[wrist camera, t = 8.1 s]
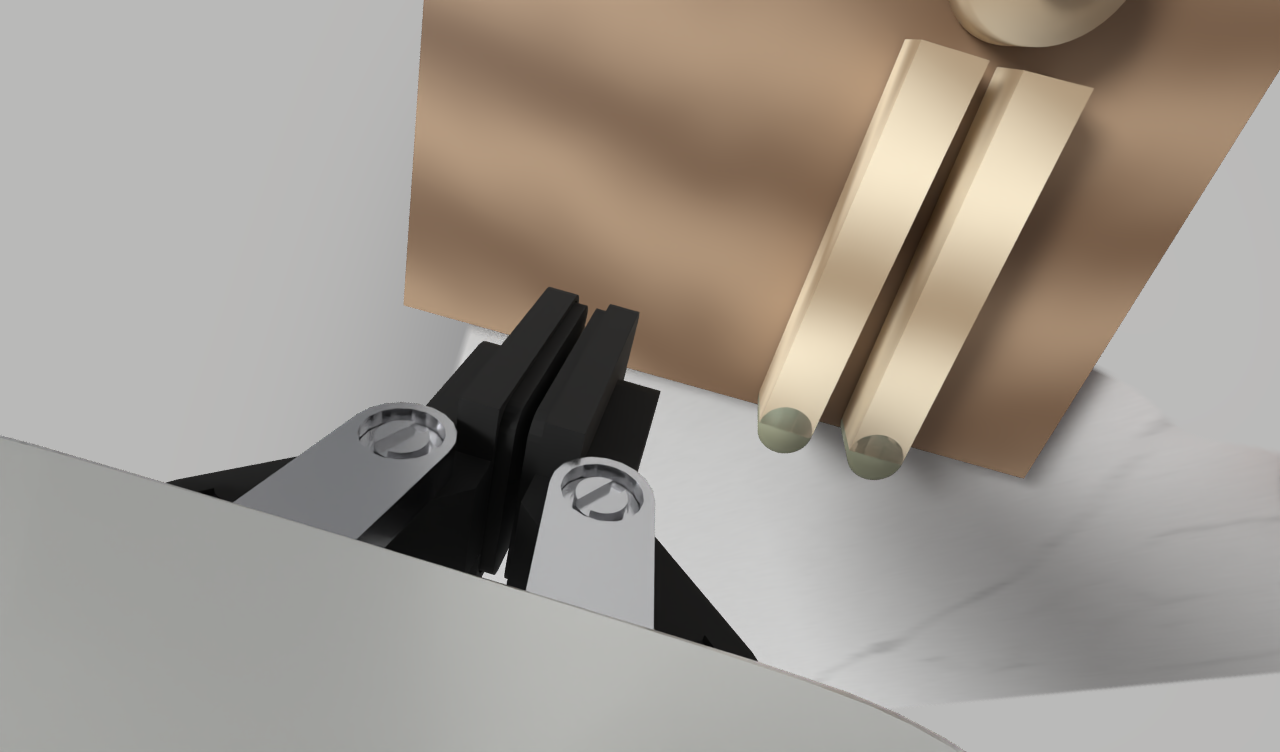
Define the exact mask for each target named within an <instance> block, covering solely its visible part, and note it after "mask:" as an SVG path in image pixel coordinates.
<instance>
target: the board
mask: <svg viewBox="0 0 1280 752" xmlns="http://www.w3.org/2000/svg"><path fill="white" fill-rule="evenodd" d="M905 39H920V40H925V41H928V42H931V43H935V44H938V45H941V46H944V47H948V48H951V49H954V50H957V51H961V52H964V53H967V54H970V55H974V56H977V57H980V58H983V59H987V60H990V61H989V63H988V65H987V68H986V70H985V72H984V74H983V76H982V78H981V80H980V82H979V84H978V87H977V89H976V91H975V93H974V95H973V97H972V99H971V101H970V103H969V106H968V108H967V110H966V112H965V114H964V116H963V118H962V120H961V122H960V124H959V127H958V129H957V131H956V133H955V135H954V137H953V139H952V141H951V143H950V146H949V148H948V150H947V152H946V154H945V156H944V158H943V160H942V162H941V165H940V167H939V169H938V171H937V173H936V175H935V177H934V179H933V181H932V184H931V186H930V188H929V190H928V192H927V194H926V196H925V198H924V200H923V202H922V205H921V207H920V209H919V211H918V213H917V215H916V217H915V219H914V221H913V224H912V226H911V228H910V230H909V232H908V234H907V236H906V238H905V240H904V243H903V245H902V247H901V249H900V251H899V253H898V255H897V257H896V259H895V262H894V264H893V266H892V268H891V270H890V272H889V274H888V276H887V278H886V280H885V283H884V285H883V287H882V289H881V291H880V293H879V295H878V297H877V299H876V302H875V304H874V306H873V308H872V310H871V312H870V314H869V316H868V318H867V321H866V323H865V325H864V327H863V329H862V331H861V333H860V335H859V337H858V340H857V342H856V344H855V346H854V348H853V350H852V352H851V354H850V356H849V358H848V361H847V363H846V365H845V367H844V369H843V371H842V373H841V375H840V377H839V380H838V382H837V384H836V386H835V388H834V390H833V392H832V394H831V396H830V399H829V401H828V403H827V405H826V407H825V409H824V411H823V413H822V415H821V418H820V420H819V421H820V422H823V423H827V424H830V425H834V426H838V427H841V426H840V424H841V419H842V417H843V414H844V412H845V410H846V408H847V405H848V403H849V401H850V399H851V396H852V394H853V392H854V390H855V387H856V385H857V383H858V380H859V378H860V376H861V374H862V371H863V369H864V367H865V365H866V362H867V360H868V358H869V356H870V353H871V351H872V349H873V346H874V344H875V342H876V340H877V337H878V335H879V333H880V331H881V328H882V326H883V324H884V322H885V319H886V317H887V315H888V312H889V310H890V308H891V306H892V303H893V301H894V299H895V297H896V294H897V292H898V290H899V288H900V285H901V283H902V281H903V278H904V276H905V274H906V272H907V269H908V267H909V265H910V263H911V260H912V258H913V256H914V254H915V251H916V249H917V247H918V244H919V242H920V240H921V238H922V235H923V233H924V231H925V229H926V226H927V224H928V222H929V220H930V217H931V215H932V213H933V210H934V208H935V206H936V204H937V201H938V199H939V197H940V195H941V192H942V190H943V188H944V186H945V183H946V181H947V179H948V176H949V174H950V172H951V170H952V167H953V165H954V163H955V161H956V158H957V156H958V154H959V152H960V149H961V147H962V145H963V142H964V140H965V138H966V136H967V133H968V131H969V129H970V127H971V124H972V122H973V120H974V118H975V115H976V113H977V111H978V108H979V106H980V104H981V102H982V99H983V97H984V95H985V93H986V90H987V88H988V86H989V84H990V81H991V79H992V77H993V74H994V72H995V70H996V68H997V67H1003V68H1010V69H1018V70H1025V71H1029V72H1033V73H1037V74H1040V75H1044V76H1048V77H1052V78H1056V79H1060V80H1063V81H1067V82H1071V83H1075V84H1079V85H1083V86H1086V87H1090V88H1094V89H1093V91H1092V93H1091V95H1090V97H1089V99H1088V101H1087V103H1086V105H1085V107H1084V109H1083V111H1082V113H1081V115H1080V117H1079V119H1078V121H1077V123H1076V125H1075V126H1074V128H1073V130H1072V132H1071V134H1070V136H1069V138H1068V140H1067V142H1066V144H1065V146H1064V148H1063V150H1062V152H1061V154H1060V156H1059V158H1058V160H1057V162H1056V164H1055V166H1054V168H1053V170H1052V171H1051V173H1050V175H1049V177H1048V179H1047V181H1046V183H1045V185H1044V187H1043V189H1042V191H1041V193H1040V195H1039V197H1038V199H1037V201H1036V203H1035V205H1034V207H1033V209H1032V211H1031V213H1030V214H1029V216H1028V218H1027V220H1026V222H1025V224H1024V226H1023V228H1022V230H1021V232H1020V234H1019V236H1018V238H1017V240H1016V242H1015V244H1014V246H1013V248H1012V250H1011V252H1010V254H1009V256H1008V258H1007V259H1006V261H1005V263H1004V265H1003V267H1002V269H1001V271H1000V273H999V275H998V277H997V279H996V281H995V283H994V285H993V287H992V289H991V291H990V293H989V295H988V297H987V299H986V301H985V303H984V304H983V306H982V308H981V310H980V312H979V314H978V316H977V318H976V320H975V322H974V324H973V326H972V328H971V330H970V332H969V334H968V336H967V338H966V340H965V342H964V344H963V346H962V347H961V349H960V351H959V353H958V355H957V357H956V359H955V361H954V363H953V365H952V367H951V369H950V371H949V373H948V375H947V377H946V379H945V381H944V383H943V385H942V387H941V389H940V391H939V392H938V394H937V396H936V398H935V400H934V402H933V404H932V406H931V408H930V410H929V412H928V414H927V416H926V418H925V420H924V422H923V424H922V426H921V428H920V430H919V432H918V434H917V435H916V437H915V439H914V441H913V443H912V445H911V447H913V448H916V449H920V450H923V451H927V452H931V453H934V454H938V455H941V456H945V457H949V458H952V459H956V460H959V461H963V462H966V463H970V464H974V465H977V466H981V467H984V468H988V469H991V470H995V471H999V472H1002V473H1006V474H1009V475H1013V476H1016V477H1020V478H1025V476H1026V474H1027V473H1028V471H1029V470H1030V468H1031V466H1032V465H1033V463H1034V462H1035V460H1036V458H1037V457H1038V455H1039V454H1040V452H1041V450H1042V449H1043V447H1044V446H1045V444H1046V442H1047V441H1048V439H1049V438H1050V436H1051V434H1052V433H1053V431H1054V430H1055V428H1056V426H1057V425H1058V423H1059V422H1060V420H1061V418H1062V417H1063V415H1064V414H1065V412H1066V410H1067V409H1068V407H1069V406H1070V404H1071V402H1072V401H1073V399H1074V398H1075V396H1076V394H1077V393H1078V391H1079V390H1080V388H1081V386H1082V385H1083V383H1084V382H1085V380H1086V378H1087V377H1088V375H1089V374H1090V372H1091V370H1092V369H1093V367H1094V366H1095V364H1096V362H1097V361H1098V359H1099V358H1100V356H1101V354H1102V353H1103V351H1104V350H1105V348H1106V347H1107V345H1108V343H1109V342H1110V340H1111V339H1112V337H1113V335H1114V333H1115V332H1116V331H1117V329H1118V327H1119V326H1120V324H1121V322H1122V321H1123V319H1124V318H1125V316H1126V314H1127V313H1128V311H1129V310H1130V308H1131V306H1132V305H1133V303H1134V302H1135V300H1136V299H1137V297H1138V295H1139V294H1140V292H1141V291H1142V289H1143V287H1144V286H1145V284H1146V283H1147V281H1148V279H1149V278H1150V276H1151V275H1152V273H1153V271H1154V270H1155V268H1156V267H1157V265H1158V263H1159V262H1160V260H1161V258H1162V257H1163V255H1164V254H1165V252H1166V251H1167V249H1168V247H1169V246H1170V244H1171V243H1172V241H1173V239H1174V238H1175V236H1176V235H1177V233H1178V231H1179V230H1180V228H1181V227H1182V225H1183V223H1184V222H1185V220H1186V218H1187V217H1188V215H1189V214H1190V212H1191V211H1192V209H1193V207H1194V206H1195V204H1196V203H1197V201H1198V199H1199V198H1200V196H1201V195H1202V193H1203V191H1204V190H1205V188H1206V187H1207V185H1208V184H1209V182H1210V180H1211V179H1212V177H1213V176H1214V174H1215V172H1216V171H1217V169H1218V167H1219V166H1220V164H1221V163H1222V161H1223V160H1224V158H1225V156H1226V155H1227V153H1228V152H1229V150H1230V148H1231V147H1232V145H1233V144H1234V142H1235V140H1236V139H1237V137H1238V136H1239V134H1240V132H1241V131H1242V129H1243V128H1244V126H1245V124H1246V123H1247V121H1248V120H1249V118H1250V116H1251V115H1252V113H1253V112H1254V110H1255V108H1256V107H1257V105H1258V103H1259V102H1260V100H1261V99H1262V97H1263V96H1264V94H1265V92H1266V91H1267V89H1268V88H1269V86H1270V84H1271V83H1272V81H1273V80H1274V78H1275V76H1276V75H1277V73H1278V72H1279V70H1280V0H1126V1H1125V2H1124V3H1123V4H1122V5H1121V6H1120V7H1119V8H1118V10H1117V11H1116V12H1115V13H1113V14H1112V15H1111V16H1110V17H1109V18H1108V19H1107V20H1106V21H1104V22H1103V23H1102V24H1100V25H1099V26H1097V27H1096V28H1095V29H1093V30H1091V31H1090V32H1088V33H1086V34H1085V35H1083V36H1081V37H1078V38H1076V39H1074V40H1072V41H1069V42H1065V43H1062V44H1059V45H1053V46H1048V47H1019V46H1001V45H994V44H990V43H987V42H984V41H982V40H980V39H978V38H976V37H974V36H973V35H971V34H970V33H969V32H968V31H967V30H965V29H964V27H963V26H962V25H961V24H960V23H959V22H958V20H957V18H956V17H955V15H954V13H953V11H952V9H951V6H950V3H949V0H424V6H423V20H422V37H421V51H420V67H419V81H418V96H417V111H416V127H415V142H414V157H413V172H412V186H411V202H410V216H409V231H408V246H407V261H406V276H405V291H404V305H405V306H408V307H412V308H415V309H419V310H423V311H427V312H430V313H434V314H437V315H441V316H445V317H448V318H451V319H455V320H458V321H462V322H466V323H469V324H473V325H476V326H480V327H483V328H487V329H491V330H494V331H498V332H501V333H505V334H508V335H510V334H511V332H512V331H513V330H514V329H515V327H516V326H517V325H518V324H519V322H520V321H521V320H522V319H523V317H524V316H525V315H526V314H527V313H528V311H529V310H530V309H531V308H532V306H533V305H534V304H535V303H536V301H537V300H538V299H539V298H540V296H541V295H542V294H543V293H544V291H545V290H546V289H547V288H548V287H552V288H556V289H559V290H563V291H567V292H570V293H574V294H577V295H579V303H580V304H583V305H587V306H588V313H587V319H586V323H585V327H586V325H587V323H588V322H589V320H590V318H591V316H592V315H593V313H594V311H595V310H596V308H597V309H601V310H605V311H606V310H607V308H608V306H609V305H610V304H613V305H616V306H620V307H623V308H627V309H631V310H634V311H638V312H640V314H639V319H638V324H637V328H636V332H635V336H634V340H633V344H632V348H631V352H630V356H629V360H628V364H627V368H630V369H634V370H637V371H641V372H644V373H648V374H652V375H655V376H659V377H662V378H666V379H669V380H673V381H677V382H680V383H684V384H687V385H691V386H695V387H698V388H702V389H705V390H709V391H712V392H716V393H720V394H723V395H727V396H730V397H734V398H737V399H741V400H745V401H748V402H752V403H755V404H758V394H759V392H760V389H761V387H762V384H763V382H764V379H765V377H766V375H767V372H768V370H769V367H770V365H771V362H772V360H773V358H774V355H775V353H776V350H777V348H778V346H779V343H780V341H781V338H782V336H783V333H784V331H785V329H786V326H787V324H788V321H789V319H790V316H791V314H792V312H793V309H794V307H795V304H796V302H797V300H798V297H799V295H800V292H801V290H802V287H803V285H804V283H805V280H806V278H807V275H808V273H809V271H810V268H811V266H812V263H813V261H814V258H815V256H816V254H817V251H818V249H819V246H820V244H821V241H822V239H823V237H824V234H825V232H826V229H827V227H828V225H829V222H830V220H831V217H832V215H833V212H834V210H835V208H836V205H837V203H838V200H839V198H840V195H841V193H842V191H843V188H844V186H845V183H846V181H847V179H848V176H849V174H850V171H851V169H852V166H853V164H854V162H855V159H856V157H857V154H858V152H859V149H860V147H861V145H862V142H863V140H864V137H865V135H866V133H867V130H868V128H869V125H870V123H871V120H872V118H873V116H874V113H875V111H876V108H877V106H878V103H879V101H880V99H881V96H882V94H883V91H884V89H885V87H886V84H887V82H888V79H889V77H890V74H891V72H892V70H893V67H894V65H895V62H896V60H897V58H898V55H899V53H900V50H901V48H902V45H903V43H904V41H905Z"/></svg>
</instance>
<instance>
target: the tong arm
mask: <svg viewBox="0 0 1280 752" xmlns="http://www.w3.org/2000/svg"><path fill="white" fill-rule="evenodd" d="M1125 1H1126V0H949V3H950V6H951V9H952V11H953V13H954V15H955V17H956V18H957V20H958V22H959V23H960V24H961V25H962V26H963V27H964V29H965V30H967V31H968V32H969V33H970V34H971V35H973V36H974V37H976V38H978V39H980V40H982V41H984V42H987V43H990V44H994V45H1001V46H1019V47H1048V46H1053V45H1059V44H1062V43H1065V42H1069V41H1072V40H1074V39H1076V38H1078V37H1081V36H1083V35H1085V34H1086V33H1088V32H1090V31H1091V30H1093V29H1095V28H1096V27H1097V26H1099V25H1100V24H1102V23H1103V22H1104V21H1106V20H1107V19H1108V18H1109V17H1110V16H1111V15H1112V14H1113V13H1115V12H1116V11H1117V10H1118V8H1119V7H1120V6H1121V5H1122V4H1123V3H1124V2H1125ZM989 61H990V60H987V59H983V58H980V57H977V56H974V55H970V54H967V53H964V52H961V51H957V50H954V49H951V48H948V47H944V46H941V45H938V44H935V43H931V42H928V41H925V40H920V39H905V41H904V43H903V45H902V48H901V50H900V53H899V55H898V58H897V60H896V62H895V65H894V67H893V70H892V72H891V74H890V77H889V79H888V82H887V84H886V87H885V89H884V91H883V94H882V96H881V99H880V101H879V103H878V106H877V108H876V111H875V113H874V116H873V118H872V120H871V123H870V125H869V128H868V130H867V133H866V135H865V137H864V140H863V142H862V145H861V147H860V149H859V152H858V154H857V157H856V159H855V162H854V164H853V166H852V169H851V171H850V174H849V176H848V179H847V181H846V183H845V186H844V188H843V191H842V193H841V195H840V198H839V200H838V203H837V205H836V208H835V210H834V212H833V215H832V217H831V220H830V222H829V225H828V227H827V229H826V232H825V234H824V237H823V239H822V241H821V244H820V246H819V249H818V251H817V254H816V256H815V258H814V261H813V263H812V266H811V268H810V271H809V273H808V275H807V278H806V280H805V283H804V285H803V287H802V290H801V292H800V295H799V297H798V300H797V302H796V304H795V307H794V309H793V312H792V314H791V316H790V319H789V321H788V324H787V326H786V329H785V331H784V333H783V336H782V338H781V341H780V343H779V346H778V348H777V350H776V353H775V355H774V358H773V360H772V362H771V365H770V367H769V370H768V372H767V375H766V377H765V379H764V382H763V384H762V387H761V389H760V392H759V394H758V435H759V438H760V440H761V442H762V443H763V444H764V445H765V446H766V447H767V448H769V449H770V450H772V451H775V452H778V453H792V452H795V451H798V450H800V449H802V448H803V447H804V446H805V445H806V444H807V443H808V442H809V440H810V439H811V436H812V434H813V432H814V430H815V428H816V426H817V424H818V422H819V420H820V418H821V415H822V413H823V411H824V409H825V407H826V405H827V403H828V401H829V399H830V396H831V394H832V392H833V390H834V388H835V386H836V384H837V382H838V380H839V377H840V375H841V373H842V371H843V369H844V367H845V365H846V363H847V361H848V358H849V356H850V354H851V352H852V350H853V348H854V346H855V344H856V342H857V340H858V337H859V335H860V333H861V331H862V329H863V327H864V325H865V323H866V321H867V318H868V316H869V314H870V312H871V310H872V308H873V306H874V304H875V302H876V299H877V297H878V295H879V293H880V291H881V289H882V287H883V285H884V283H885V280H886V278H887V276H888V274H889V272H890V270H891V268H892V266H893V264H894V262H895V259H896V257H897V255H898V253H899V251H900V249H901V247H902V245H903V243H904V240H905V238H906V236H907V234H908V232H909V230H910V228H911V226H912V224H913V221H914V219H915V217H916V215H917V213H918V211H919V209H920V207H921V205H922V202H923V200H924V198H925V196H926V194H927V192H928V190H929V188H930V186H931V184H932V181H933V179H934V177H935V175H936V173H937V171H938V169H939V167H940V165H941V162H942V160H943V158H944V156H945V154H946V152H947V150H948V148H949V146H950V143H951V141H952V139H953V137H954V135H955V133H956V131H957V129H958V127H959V124H960V122H961V120H962V118H963V116H964V114H965V112H966V110H967V108H968V106H969V103H970V101H971V99H972V97H973V95H974V93H975V91H976V89H977V87H978V84H979V82H980V80H981V78H982V76H983V74H984V72H985V70H986V68H987V65H988V63H989Z"/></svg>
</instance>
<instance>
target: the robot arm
mask: <svg viewBox="0 0 1280 752" xmlns="http://www.w3.org/2000/svg"><path fill="white" fill-rule="evenodd" d="M587 313H588V306H587V305H583V304H580V303H579V295H577V294H574V293H570V292H567V291H563V290H559V289H556V288H552V287H548V288H547V289H546V290H545V291H544V293H543V294H542V295H541V296H540V298H539V299H538V300H537V301H536V303H535V304H534V305H533V306H532V308H531V309H530V310H529V311H528V313H527V314H526V315H525V316H524V317H523V319H522V320H521V321H520V322H519V324H518V325H517V326H516V327H515V329H514V330H513V331H512V332H511V334H510V335H509V336H508V337H507V339H506V340H505V341H504V342H503V344H502V345H497V344H494V343H490V342H487V341H483V342H482V343H480V344H479V345H478V346H477V348H476V349H475V350H474V351H473V352H472V353H471V354H470V356H469V357H468V358H467V359H466V360H465V361H464V362H463V364H462V365H461V366H460V367H459V368H458V369H457V371H456V372H455V373H454V374H453V375H452V376H451V377H450V379H449V380H448V381H447V382H446V383H445V384H444V386H443V387H442V388H441V389H440V390H439V391H438V392H437V394H436V395H435V396H434V397H433V398H432V399H431V400H430V402H429V403H428V404H427V405H426V406H424V405H421V404H417V403H406V402H397V403H384V404H381V405H377V406H373V407H370V408H368V409H366V410H364V411H362V412H360V413H358V414H356V415H355V416H354V417H352V418H351V419H350V420H348V421H347V422H345V423H344V424H343V425H341V426H340V427H338V428H337V429H335V430H334V431H333V432H331V433H330V434H328V435H327V436H326V437H324V438H323V439H321V440H320V441H319V442H317V443H316V444H314V445H313V446H312V447H310V448H309V449H307V450H306V451H305V452H303V453H302V454H300V455H299V456H297V457H292V458H287V459H282V460H276V461H272V462H266V463H261V464H256V465H251V466H245V467H240V468H235V469H230V470H224V471H219V472H214V473H209V474H204V475H198V476H194V477H188V478H183V479H178V480H174V481H170V482H167V483H164V482H161V481H158V480H154V479H151V478H147V477H144V476H140V475H137V474H134V473H130V472H127V471H124V470H120V469H117V468H113V467H110V466H107V465H103V464H100V463H96V462H93V461H89V460H86V459H83V458H79V457H76V456H73V455H69V454H66V453H63V452H59V451H56V450H52V449H49V448H46V447H42V446H39V445H35V444H31V443H27V442H24V441H20V440H16V439H12V438H8V437H5V436H0V752H966V751H964V750H963V749H961V748H960V747H958V746H956V745H955V744H953V743H952V742H950V741H949V740H947V739H946V738H944V737H942V736H940V735H938V734H936V733H934V732H932V731H930V730H929V729H927V728H925V727H923V726H921V725H919V724H917V723H915V722H913V721H911V720H909V719H908V718H905V717H904V716H902V715H900V714H898V713H896V712H893V711H891V710H889V709H887V708H884V707H882V706H879V705H877V704H875V703H872V702H870V701H867V700H865V699H863V698H860V697H858V696H856V695H853V694H851V693H848V692H846V691H843V690H840V689H837V688H834V687H831V686H828V685H825V684H822V683H819V682H816V681H813V680H810V679H807V678H804V677H801V676H798V675H795V674H793V673H790V672H787V671H784V670H781V669H778V668H775V667H772V666H769V665H766V664H763V663H760V662H758V661H757V659H756V657H755V656H754V654H753V653H752V651H751V650H750V649H749V648H748V647H747V645H746V644H745V643H744V642H743V641H742V640H741V638H740V637H739V636H738V635H737V634H736V632H735V631H734V630H733V629H732V628H731V626H730V625H729V624H728V623H727V622H726V621H725V619H724V618H723V617H722V616H721V615H720V613H719V612H718V611H717V610H716V609H715V607H714V606H713V605H712V604H711V603H710V602H709V600H708V599H707V598H706V597H705V596H704V594H703V593H702V592H701V591H700V590H699V588H698V587H697V586H696V585H695V584H694V583H693V581H692V580H691V579H690V578H689V577H688V575H687V574H686V573H685V572H684V571H683V569H682V568H681V567H680V566H679V565H678V564H677V562H676V561H675V560H674V559H673V558H672V556H671V555H670V554H669V553H668V552H667V550H666V549H665V548H664V547H663V546H662V545H661V543H660V542H659V541H658V540H657V539H656V537H655V499H654V494H653V490H652V488H651V487H650V485H649V484H648V482H647V480H646V479H645V478H644V477H643V476H641V475H640V474H639V473H638V469H639V466H640V462H641V459H642V455H643V452H644V448H645V445H646V441H647V438H648V434H649V431H650V427H651V423H652V420H653V416H654V413H655V409H656V406H657V402H658V399H659V395H660V391H658V390H655V389H651V388H648V387H644V386H641V385H637V384H634V383H630V382H627V381H624V377H625V373H626V368H627V364H628V360H629V356H630V352H631V348H632V344H633V340H634V336H635V332H636V328H637V324H638V319H639V314H640V312H638V311H634V310H631V309H627V308H623V307H620V306H616V305H613V304H610V305H609V306H608V308H607V310H606V311H605V310H601V309H597V308H596V310H595V311H594V313H593V315H592V316H591V318H590V320H589V322H588V323H587V325H586V327H585V323H586V319H587ZM508 548H509V550H508ZM507 550H508V556H507V562H506V568H505V574H504V577H505V578H506V579H508V580H507V585H505V584H502V583H498V582H495V581H492V580H488V579H485V578H482V575H483V573H484V572H486V573H490V574H493V575H495V574H496V572H497V571H498V569H499V567H500V565H501V563H502V561H503V559H504V557H505V554H506V552H507Z"/></svg>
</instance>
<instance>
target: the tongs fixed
mask: <svg viewBox="0 0 1280 752" xmlns="http://www.w3.org/2000/svg"><path fill="white" fill-rule="evenodd" d="M1093 89H1094V88H1090V87H1086V86H1083V85H1079V84H1075V83H1071V82H1067V81H1063V80H1060V79H1056V78H1052V77H1048V76H1044V75H1040V74H1037V73H1033V72H1029V71H1025V70H1018V69H1010V68H1003V67H997V68H996V70H995V72H994V74H993V77H992V79H991V81H990V84H989V86H988V88H987V90H986V93H985V95H984V97H983V99H982V102H981V104H980V106H979V108H978V111H977V113H976V115H975V118H974V120H973V122H972V124H971V127H970V129H969V131H968V133H967V136H966V138H965V140H964V142H963V145H962V147H961V149H960V152H959V154H958V156H957V158H956V161H955V163H954V165H953V167H952V170H951V172H950V174H949V176H948V179H947V181H946V183H945V186H944V188H943V190H942V192H941V195H940V197H939V199H938V201H937V204H936V206H935V208H934V210H933V213H932V215H931V217H930V220H929V222H928V224H927V226H926V229H925V231H924V233H923V235H922V238H921V240H920V242H919V244H918V247H917V249H916V251H915V254H914V256H913V258H912V260H911V263H910V265H909V267H908V269H907V272H906V274H905V276H904V278H903V281H902V283H901V285H900V288H899V290H898V292H897V294H896V297H895V299H894V301H893V303H892V306H891V308H890V310H889V312H888V315H887V317H886V319H885V322H884V324H883V326H882V328H881V331H880V333H879V335H878V337H877V340H876V342H875V344H874V346H873V349H872V351H871V353H870V356H869V358H868V360H867V362H866V365H865V367H864V369H863V371H862V374H861V376H860V378H859V380H858V383H857V385H856V387H855V390H854V392H853V394H852V396H851V399H850V401H849V403H848V405H847V408H846V410H845V412H844V414H843V417H842V419H841V424H840V426H841V432H842V437H843V441H844V446H845V451H846V456H847V460H848V464H849V467H850V468H851V470H852V471H853V472H854V473H855V474H856V475H858V476H860V477H862V478H865V479H869V480H879V479H884V478H887V477H889V476H891V475H893V474H894V473H895V472H896V471H897V470H898V469H899V468H900V467H901V465H902V463H903V461H904V459H905V457H906V455H907V453H908V451H909V449H910V447H911V445H912V443H913V441H914V439H915V437H916V435H917V434H918V432H919V430H920V428H921V426H922V424H923V422H924V420H925V418H926V416H927V414H928V412H929V410H930V408H931V406H932V404H933V402H934V400H935V398H936V396H937V394H938V392H939V391H940V389H941V387H942V385H943V383H944V381H945V379H946V377H947V375H948V373H949V371H950V369H951V367H952V365H953V363H954V361H955V359H956V357H957V355H958V353H959V351H960V349H961V347H962V346H963V344H964V342H965V340H966V338H967V336H968V334H969V332H970V330H971V328H972V326H973V324H974V322H975V320H976V318H977V316H978V314H979V312H980V310H981V308H982V306H983V304H984V303H985V301H986V299H987V297H988V295H989V293H990V291H991V289H992V287H993V285H994V283H995V281H996V279H997V277H998V275H999V273H1000V271H1001V269H1002V267H1003V265H1004V263H1005V261H1006V259H1007V258H1008V256H1009V254H1010V252H1011V250H1012V248H1013V246H1014V244H1015V242H1016V240H1017V238H1018V236H1019V234H1020V232H1021V230H1022V228H1023V226H1024V224H1025V222H1026V220H1027V218H1028V216H1029V214H1030V213H1031V211H1032V209H1033V207H1034V205H1035V203H1036V201H1037V199H1038V197H1039V195H1040V193H1041V191H1042V189H1043V187H1044V185H1045V183H1046V181H1047V179H1048V177H1049V175H1050V173H1051V171H1052V170H1053V168H1054V166H1055V164H1056V162H1057V160H1058V158H1059V156H1060V154H1061V152H1062V150H1063V148H1064V146H1065V144H1066V142H1067V140H1068V138H1069V136H1070V134H1071V132H1072V130H1073V128H1074V126H1075V125H1076V123H1077V121H1078V119H1079V117H1080V115H1081V113H1082V111H1083V109H1084V107H1085V105H1086V103H1087V101H1088V99H1089V97H1090V95H1091V93H1092V91H1093Z"/></svg>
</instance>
